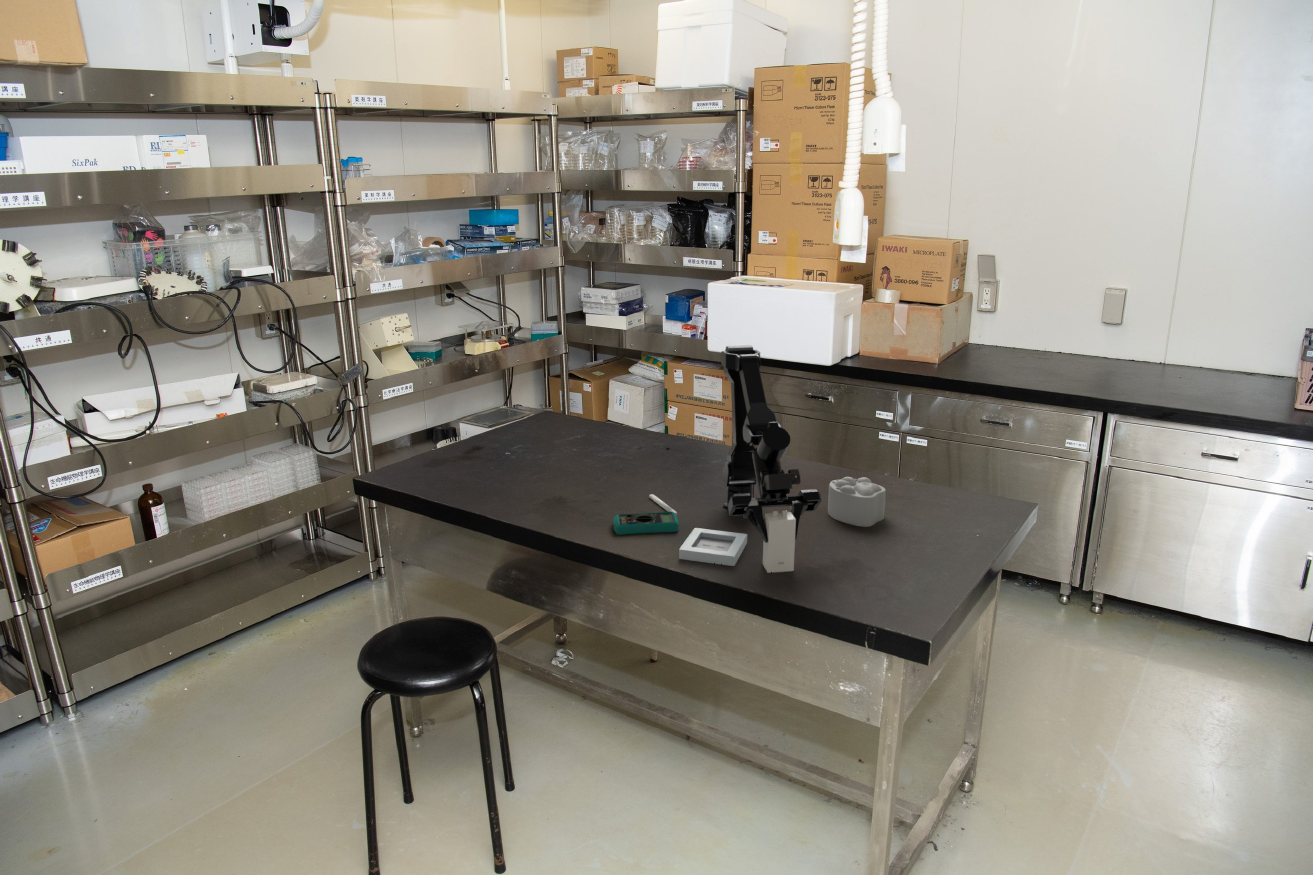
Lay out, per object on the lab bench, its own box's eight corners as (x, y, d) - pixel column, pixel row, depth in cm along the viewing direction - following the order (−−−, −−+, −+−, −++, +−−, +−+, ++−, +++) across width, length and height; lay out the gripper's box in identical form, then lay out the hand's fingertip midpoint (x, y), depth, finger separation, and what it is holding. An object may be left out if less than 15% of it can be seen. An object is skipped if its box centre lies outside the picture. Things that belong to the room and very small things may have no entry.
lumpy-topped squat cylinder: (865, 529, 198) (868, 494, 195) (817, 514, 207) (819, 480, 204) (888, 516, 205) (891, 482, 203) (841, 502, 214) (843, 469, 211)
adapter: (762, 564, 181) (764, 507, 177) (788, 562, 182) (790, 506, 178) (767, 572, 177) (769, 515, 173) (793, 571, 178) (796, 513, 174)
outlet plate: (694, 536, 195) (694, 527, 194) (747, 543, 191) (747, 534, 190) (679, 558, 184) (679, 549, 183) (734, 566, 180) (734, 556, 179)
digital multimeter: (612, 524, 203) (612, 512, 202) (675, 521, 204) (675, 509, 204) (614, 537, 196) (614, 525, 195) (679, 533, 198) (679, 521, 197)
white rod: (649, 498, 218) (648, 493, 218) (653, 497, 218) (653, 493, 218) (672, 516, 206) (672, 512, 206) (677, 515, 207) (677, 511, 206)
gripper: (731, 457, 175) (743, 529, 168) (821, 452, 177) (835, 523, 170) (723, 480, 185) (733, 549, 178) (807, 475, 187) (821, 543, 180)
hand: (780, 541), depth 176 cm, fingers closed on adapter, 5 cm apart
